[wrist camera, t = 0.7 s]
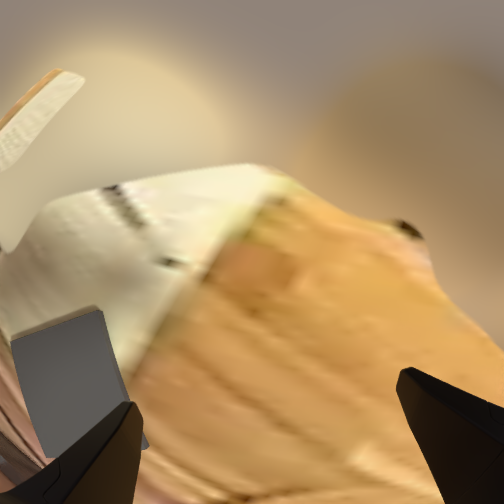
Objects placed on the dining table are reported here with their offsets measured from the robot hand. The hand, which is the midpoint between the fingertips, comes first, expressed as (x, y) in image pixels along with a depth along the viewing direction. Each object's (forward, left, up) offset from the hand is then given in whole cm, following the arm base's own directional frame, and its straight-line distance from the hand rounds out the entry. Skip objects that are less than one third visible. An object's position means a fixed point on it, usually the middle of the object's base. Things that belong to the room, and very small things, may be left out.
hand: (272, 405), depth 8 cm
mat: (+3, +18, -15) cm, 24 cm away
